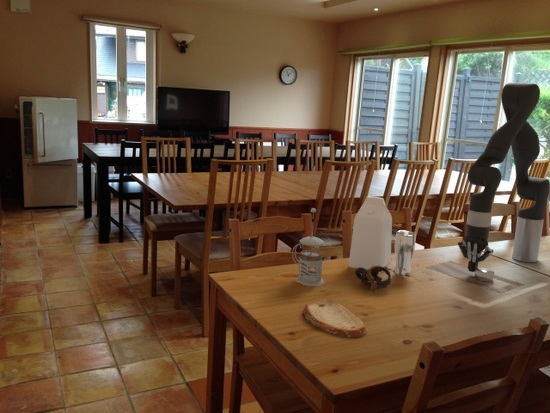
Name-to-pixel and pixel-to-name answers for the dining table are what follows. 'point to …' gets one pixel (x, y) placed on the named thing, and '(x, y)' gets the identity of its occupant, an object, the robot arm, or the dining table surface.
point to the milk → (371, 235)
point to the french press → (310, 261)
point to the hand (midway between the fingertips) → (472, 271)
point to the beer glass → (404, 252)
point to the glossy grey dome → (484, 275)
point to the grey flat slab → (471, 275)
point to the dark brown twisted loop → (373, 277)
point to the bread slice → (334, 318)
